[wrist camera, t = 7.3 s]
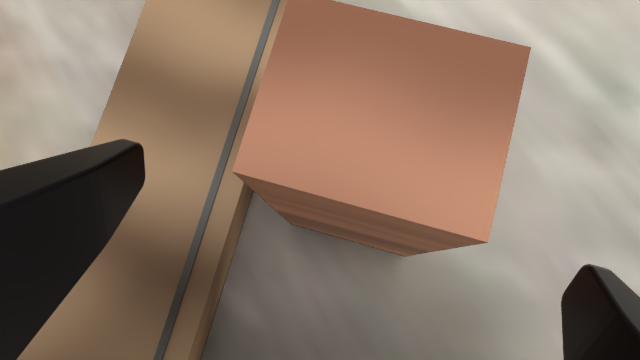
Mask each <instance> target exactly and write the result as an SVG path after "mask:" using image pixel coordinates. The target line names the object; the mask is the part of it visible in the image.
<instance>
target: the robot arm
mask: <svg viewBox="0 0 640 360" xmlns="http://www.w3.org/2000/svg"><path fill="white" fill-rule="evenodd" d="M144 182H145V161H144V149H143V146H142V145H141V144H140V143H138V142H134V141H130V140H127V139H118V140H114V141H111V142H107V143H103V144H99V145H95V146H92V147H88V148H84V149H80V150H76V151H73V152H69V153H65V154H61V155H57V156H53V157H50V158H46V159H42V160H38V161H34V162H31V163H27V164H23V165H19V166H15V167H11V168H8V169H4V170H0V360H17V359H18V357H19V356H20V355H21V353H22V352H23V351H24V350H25V348H26V347H27V346H28V344H29V343H30V342H31V341H32V339H33V338H34V337H35V336H36V334H37V333H38V332H39V330H40V329H41V328H42V327H43V325H44V324H45V323H46V322H47V320H48V319H49V318H50V316H51V315H52V314H53V313H54V311H55V310H56V309H57V308H58V306H59V305H60V304H61V302H62V301H63V300H64V299H65V297H66V296H67V295H68V294H69V292H70V291H71V290H72V288H73V287H74V286H75V285H76V283H77V282H78V281H79V280H80V278H81V277H82V276H83V274H84V273H85V272H86V271H87V269H88V268H89V267H90V266H91V264H92V263H93V262H94V260H95V259H96V258H97V257H98V255H99V254H100V253H101V252H102V250H103V249H104V247H105V246H106V245H107V243H108V242H109V241H110V239H111V237H112V236H113V234H114V233H115V231H116V230H117V228H118V226H119V225H120V223H121V222H122V220H123V218H124V217H125V215H126V213H127V212H128V210H129V208H130V207H131V205H132V204H133V202H134V200H135V199H136V197H137V195H138V194H139V192H140V191H141V189H142V187H143V185H144ZM561 311H562V332H563V354H564V360H640V297H639V296H638V295H637V294H636V293H635V292H633V291H632V290H631V289H630V288H629V287H628V286H627V285H626V284H625V283H624V282H623V281H622V280H620V279H619V278H618V277H617V276H616V275H615V274H614V273H613V272H612V271H610V270H609V269H606V268H602V267H599V266H595V265H591V264H587V265H584V266H583V267H582V268H581V269H580V270H579V271H578V273H577V274H576V276H575V277H574V279H573V280H572V281H571V283H570V284H569V286H568V287H567V289H566V290H565V292H564V294H563V296H562V301H561Z"/></svg>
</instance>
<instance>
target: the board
mask: <svg viewBox="0 0 640 360" xmlns="http://www.w3.org/2000/svg"><path fill="white" fill-rule="evenodd" d="M287 1H288V0H146V2H145V5H144V8H143V10H142V13H141V15H140V18H139V21H138V23H137V26H136V29H135V31H134V34H133V36H132V39H131V42H130V44H129V47H128V49H127V52H126V55H125V57H124V60H123V62H122V65H121V68H120V70H119V73H118V76H117V78H116V81H115V83H114V86H113V89H112V91H111V94H110V96H109V99H108V102H107V104H106V107H105V110H104V112H103V115H102V117H101V120H100V123H99V125H98V128H97V130H96V133H95V136H94V138H93V141H92V144H91V146H90V147H92V146H95V145H99V144H103V143H107V142H111V141H114V140H118V139H127V140H130V141H134V142H138V143H140V144H141V145H142V146H143V149H144V161H145V182H144V185H143V187H142V189H141V191H140V192H139V194H138V195H137V197H136V199H135V200H134V202H133V204H132V205H131V207H130V208H129V210H128V212H127V213H126V215H125V217H124V218H123V220H122V222H121V223H120V225H119V226H118V228H117V230H116V231H115V233H114V234H113V236H112V237H111V239H110V241H109V242H108V243H107V245H106V246H105V247H104V249H103V250H102V252H101V253H100V254H99V255H98V257H97V258H96V259H95V260H94V262H93V263H92V264H91V266H90V267H89V268H88V269H87V271H86V272H85V273H84V274H83V276H82V277H81V278H80V280H79V281H78V282H77V283H76V285H75V286H74V287H73V288H72V290H71V291H70V292H69V294H68V295H67V296H66V297H65V299H64V300H63V301H62V302H61V304H60V305H59V306H58V308H57V309H56V310H55V311H54V313H53V314H52V315H51V316H50V318H49V319H48V320H47V322H46V323H45V324H44V325H43V327H42V328H41V329H40V330H39V332H38V333H37V334H36V336H35V337H34V338H33V339H32V341H31V342H30V343H29V344H28V346H27V347H26V348H25V350H24V351H23V352H22V353H21V355H20V356H19V357H18V359H17V360H201V356H202V353H203V350H204V347H205V344H206V340H207V337H208V334H209V331H210V328H211V324H212V321H213V318H214V315H215V312H216V308H217V305H218V302H219V299H220V296H221V292H222V289H223V286H224V283H225V280H226V276H227V273H228V270H229V267H230V264H231V260H232V257H233V254H234V251H235V248H236V245H237V241H238V238H239V235H240V232H241V229H242V225H243V222H244V219H245V216H246V213H247V209H248V206H249V203H250V200H251V197H252V193H253V190H252V189H251V188H250V187H249V186H248V185H246V184H245V183H244V182H243V181H242V180H241V179H240V178H239V177H237V176H236V175H235V174H234V173H233V172H232V170H233V167H234V164H235V161H236V158H237V155H238V151H239V148H240V145H241V142H242V139H243V136H244V133H245V130H246V127H247V124H248V121H249V118H250V115H251V112H252V109H253V105H254V102H255V99H256V96H257V93H258V90H259V87H260V84H261V81H262V78H263V75H264V72H265V69H266V66H267V62H268V59H269V56H270V53H271V50H272V47H273V44H274V41H275V38H276V35H277V32H278V29H279V26H280V23H281V19H282V16H283V13H284V10H285V7H286V4H287Z"/></svg>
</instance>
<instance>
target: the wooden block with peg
mask: <svg viewBox="0 0 640 360" xmlns="http://www.w3.org/2000/svg"><path fill="white" fill-rule="evenodd" d="M530 49H531V47H527V46H522V45H518V44H514V43H510V42H506V41H501V40H497V39H493V38H489V37H484V36H480V35H476V34H472V33H467V32H463V31H459V30H455V29H450V28H446V27H442V26H438V25H433V24H429V23H425V22H421V21H417V20H412V19H408V18H404V17H400V16H395V15H391V14H387V13H383V12H378V11H374V10H370V9H366V8H361V7H357V6H353V5H349V4H344V3H340V2H336V1H332V0H288V1H287V4H286V7H285V10H284V13H283V16H282V19H281V23H280V26H279V29H278V32H277V35H276V38H275V41H274V44H273V47H272V50H271V53H270V56H269V59H268V62H267V66H266V69H265V72H264V75H263V78H262V81H261V84H260V87H259V90H258V93H257V96H256V99H255V102H254V105H253V109H252V112H251V115H250V118H249V121H248V124H247V127H246V130H245V133H244V136H243V139H242V142H241V145H240V148H239V151H238V155H237V158H236V161H235V164H234V167H233V170H232V172H233V173H234V174H235V175H236V176H237V177H239V178H240V179H241V180H242V181H243V182H244V183H245V184H246V185H248V186H249V187H250V188H251V189H252V190H253V191H254V192H255V193H257V194H258V195H259V196H260V197H261V198H262V199H263V200H264V201H266V202H267V203H268V204H269V205H270V206H271V207H272V208H273V209H275V210H276V211H277V212H278V213H279V214H280V215H281V216H282V217H284V218H285V219H286V220H287V221H288V222H289V223H290V224H293V225H296V226H300V227H303V228H307V229H310V230H314V231H317V232H321V233H324V234H328V235H331V236H335V237H338V238H342V239H345V240H349V241H352V242H356V243H359V244H363V245H367V246H370V247H374V248H377V249H381V250H384V251H388V252H391V253H395V254H398V255H402V256H410V255H416V254H422V253H428V252H434V251H440V250H446V249H452V248H458V247H464V246H470V245H476V244H482V243H488V240H489V236H490V231H491V226H492V222H493V217H494V213H495V208H496V204H497V199H498V195H499V190H500V186H501V181H502V176H503V172H504V167H505V163H506V158H507V154H508V149H509V145H510V140H511V135H512V131H513V126H514V122H515V117H516V113H517V108H518V104H519V99H520V95H521V90H522V85H523V81H524V76H525V72H526V67H527V63H528V58H529V54H530Z"/></svg>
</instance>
